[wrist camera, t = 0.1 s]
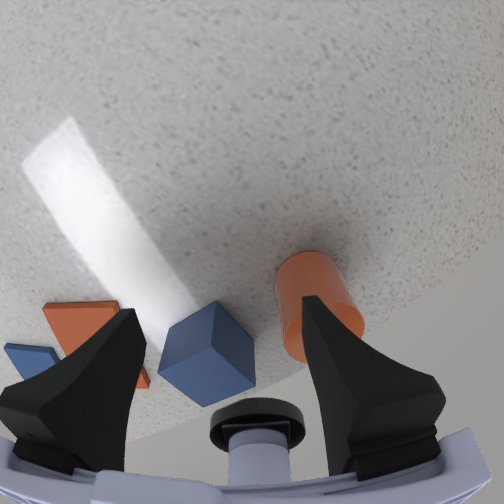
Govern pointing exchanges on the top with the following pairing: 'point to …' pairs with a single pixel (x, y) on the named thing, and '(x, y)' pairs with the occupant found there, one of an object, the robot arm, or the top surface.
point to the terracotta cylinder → (306, 284)
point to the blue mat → (31, 359)
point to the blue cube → (208, 356)
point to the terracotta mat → (82, 325)
